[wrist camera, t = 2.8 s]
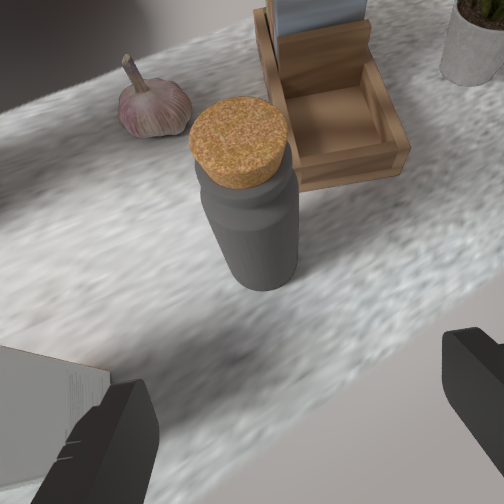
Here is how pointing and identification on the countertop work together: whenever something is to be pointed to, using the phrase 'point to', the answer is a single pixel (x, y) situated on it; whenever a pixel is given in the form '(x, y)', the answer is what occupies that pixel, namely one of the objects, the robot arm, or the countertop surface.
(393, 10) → the countertop surface
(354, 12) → the rack
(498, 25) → the house plant
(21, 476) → the small box
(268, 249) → the bottle
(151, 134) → the garlic bulb
